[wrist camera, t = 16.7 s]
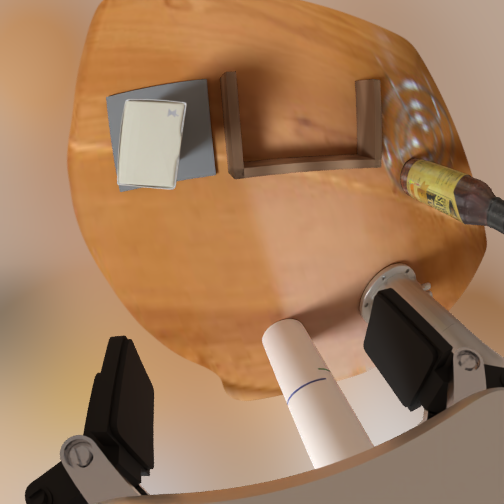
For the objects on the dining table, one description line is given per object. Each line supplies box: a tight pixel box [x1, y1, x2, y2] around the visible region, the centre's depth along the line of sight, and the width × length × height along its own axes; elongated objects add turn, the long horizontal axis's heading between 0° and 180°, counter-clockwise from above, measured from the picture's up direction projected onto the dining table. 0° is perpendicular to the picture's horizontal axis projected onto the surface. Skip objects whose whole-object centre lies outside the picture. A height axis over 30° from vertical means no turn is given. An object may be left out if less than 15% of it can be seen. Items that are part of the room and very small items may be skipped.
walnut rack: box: [220, 71, 382, 179], centre depth 29 cm, size 18×11×4 cm, turn 95°
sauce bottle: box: [400, 159, 504, 234], centre depth 29 cm, size 6×6×20 cm
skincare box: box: [117, 99, 187, 190], centre depth 22 cm, size 6×4×12 cm
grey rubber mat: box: [106, 79, 216, 192], centre depth 27 cm, size 11×11×1 cm
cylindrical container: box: [262, 319, 374, 469], centre depth 34 cm, size 7×7×25 cm
